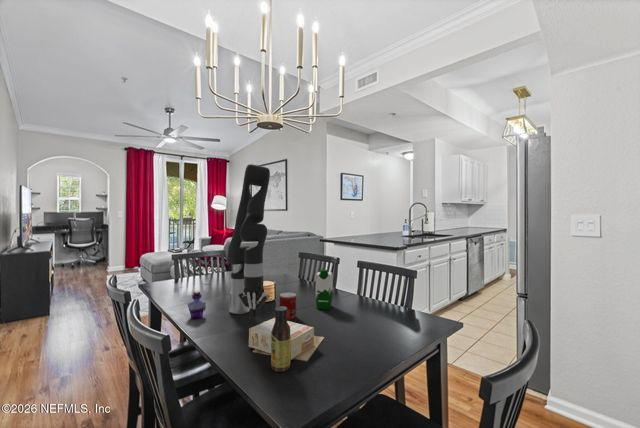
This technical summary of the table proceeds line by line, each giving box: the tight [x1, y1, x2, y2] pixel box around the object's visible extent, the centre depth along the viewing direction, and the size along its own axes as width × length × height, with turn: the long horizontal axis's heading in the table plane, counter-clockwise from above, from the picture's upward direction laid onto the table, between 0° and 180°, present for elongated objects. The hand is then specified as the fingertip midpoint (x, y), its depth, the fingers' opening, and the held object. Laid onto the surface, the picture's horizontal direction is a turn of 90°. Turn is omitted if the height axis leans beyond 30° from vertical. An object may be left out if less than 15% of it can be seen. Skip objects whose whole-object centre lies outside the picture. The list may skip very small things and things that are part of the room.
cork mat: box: [252, 335, 325, 362], centre depth 117 cm, size 21×20×1 cm
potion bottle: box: [187, 291, 207, 320], centre depth 146 cm, size 9×9×12 cm
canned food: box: [279, 291, 297, 321], centre depth 147 cm, size 8×8×11 cm
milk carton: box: [315, 269, 334, 310], centre depth 162 cm, size 9×9×20 cm
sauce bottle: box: [270, 305, 291, 373], centre depth 100 cm, size 6×6×20 cm
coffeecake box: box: [248, 317, 315, 361], centre depth 115 cm, size 15×7×20 cm
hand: (253, 317), depth 122 cm, fingers closed
